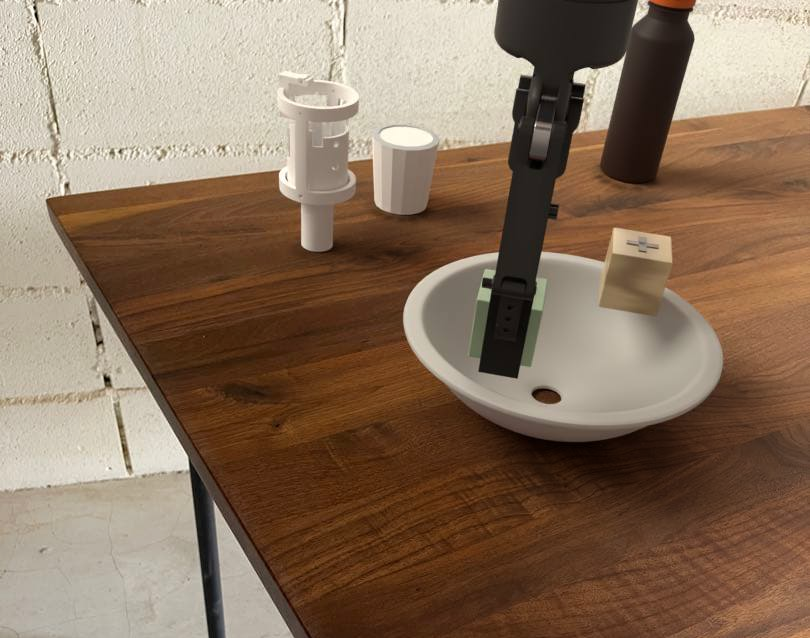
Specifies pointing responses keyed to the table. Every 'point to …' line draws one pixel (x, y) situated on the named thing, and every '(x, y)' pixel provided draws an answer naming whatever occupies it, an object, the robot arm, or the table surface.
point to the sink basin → (568, 353)
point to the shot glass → (403, 167)
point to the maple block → (635, 271)
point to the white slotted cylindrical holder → (316, 153)
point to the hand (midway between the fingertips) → (505, 336)
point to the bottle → (648, 91)
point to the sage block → (482, 313)
